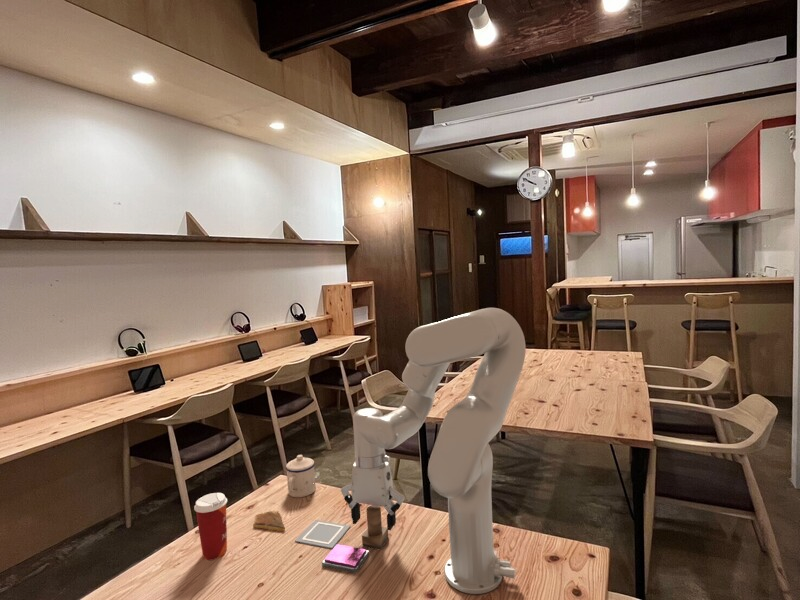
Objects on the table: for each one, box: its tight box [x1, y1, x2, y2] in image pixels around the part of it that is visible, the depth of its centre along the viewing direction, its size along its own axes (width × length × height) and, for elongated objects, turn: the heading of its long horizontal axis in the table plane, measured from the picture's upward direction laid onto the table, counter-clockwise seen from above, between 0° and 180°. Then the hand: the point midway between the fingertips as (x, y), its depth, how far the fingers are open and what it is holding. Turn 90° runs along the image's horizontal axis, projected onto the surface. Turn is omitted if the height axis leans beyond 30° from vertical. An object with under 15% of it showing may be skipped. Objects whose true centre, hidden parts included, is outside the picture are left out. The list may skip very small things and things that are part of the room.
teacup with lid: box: [285, 454, 316, 498], centre depth 138 cm, size 12×9×12 cm
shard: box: [252, 510, 286, 532], centre depth 121 cm, size 11×8×2 cm
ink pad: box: [321, 543, 370, 574], centre depth 104 cm, size 9×7×2 cm
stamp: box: [361, 505, 389, 551], centre depth 110 cm, size 5×5×9 cm
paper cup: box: [193, 492, 228, 561], centre depth 110 cm, size 8×8×14 cm
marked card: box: [294, 519, 351, 550], centre depth 115 cm, size 11×10×1 cm
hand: (373, 524), depth 110 cm, fingers open, 9 cm apart
